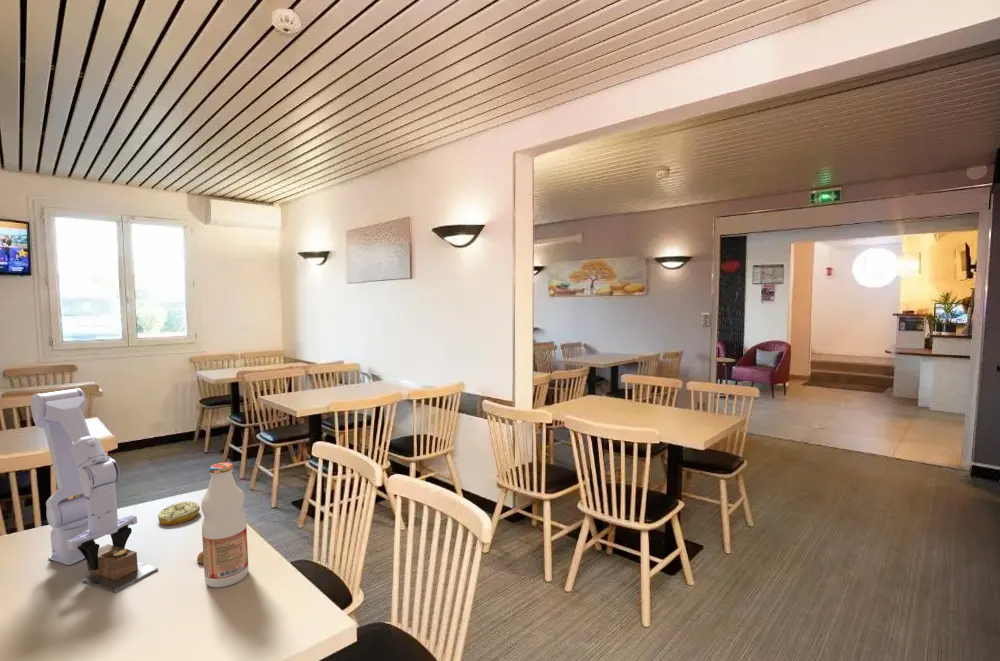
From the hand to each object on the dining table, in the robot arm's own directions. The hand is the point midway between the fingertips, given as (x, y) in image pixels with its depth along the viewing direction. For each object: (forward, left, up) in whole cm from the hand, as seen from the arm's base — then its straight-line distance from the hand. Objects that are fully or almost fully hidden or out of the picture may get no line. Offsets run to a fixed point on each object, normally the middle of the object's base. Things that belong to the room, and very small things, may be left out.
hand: (106, 563), depth 124 cm
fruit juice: (+31, +9, -2) cm, 32 cm away
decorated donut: (-11, +27, -3) cm, 29 cm away
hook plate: (+6, 0, -2) cm, 6 cm away
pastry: (+20, +16, -3) cm, 26 cm away
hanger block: (+2, 0, -1) cm, 3 cm away
